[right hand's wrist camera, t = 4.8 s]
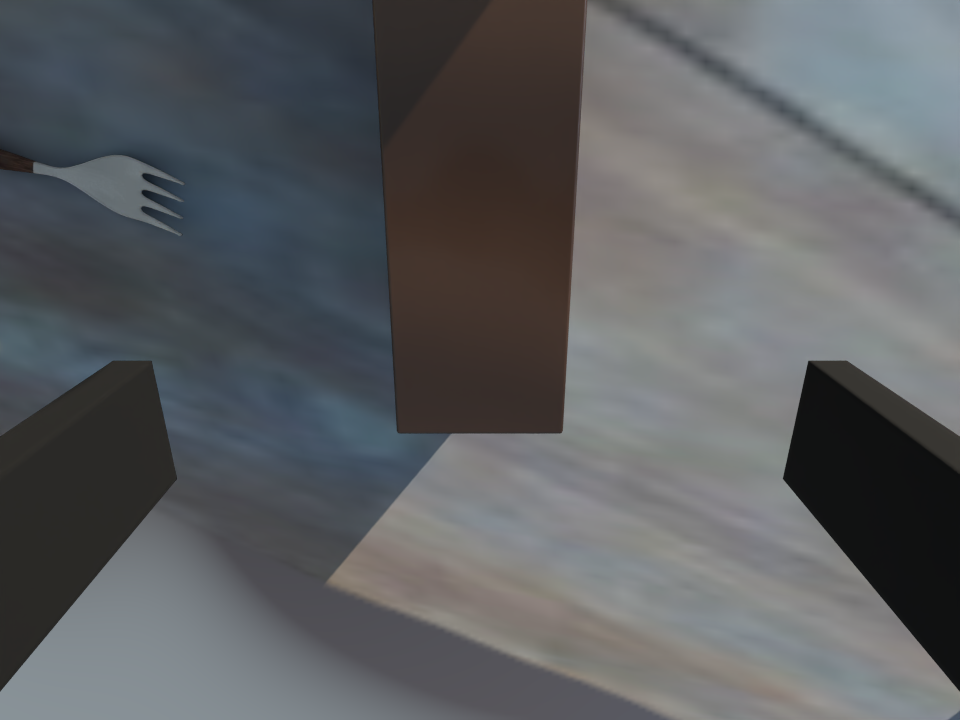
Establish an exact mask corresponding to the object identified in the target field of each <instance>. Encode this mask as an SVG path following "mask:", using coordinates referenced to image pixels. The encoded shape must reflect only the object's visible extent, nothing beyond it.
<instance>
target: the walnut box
mask: <svg viewBox="0 0 960 720" xmlns="http://www.w3.org/2000/svg"><path fill="white" fill-rule="evenodd" d="M372 3H373V21H374V38H375V55H376V73H377V90H378V108H379V125H380V143H381V160H382V178H383V195H384V213H385V230H386V248H387V265H388V283H389V300H390V318H391V335H392V352H393V370H394V387H395V405H396V422H397V432H398V433H562V431H563V417H564V399H565V382H566V364H567V347H568V329H569V312H570V294H571V277H572V259H573V242H574V224H575V207H576V189H577V171H578V154H579V136H580V119H581V101H582V84H583V66H584V49H585V31H586V14H587V0H372Z"/></svg>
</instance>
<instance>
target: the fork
mask: <svg viewBox="0 0 960 720" xmlns="http://www.w3.org/2000/svg"><path fill="white" fill-rule="evenodd" d="M0 169H4V170H13V171H21V172H29V173H37V174H43V175H49V176H54V177H57V178H60V179H63V180H65V181H67V182H69V183H70V184H72V185H74V186H75V187H77V188H79V189H80V190H82V191H83V192H85V193H86V194H87V195H89V196H90V197H92V198H93V199H95V200H96V201H98V202H99V203H101V204H102V205H104V206H105V207H107V208H109V209H110V210H112V211H114V212H116V213H118V214H120V215H123V216H126V217H129V218H132V219H136V220H140V221H143V222H146V223H149V224H152V225H154V226H157V227H160V228H162V229H165V230H167V231H170V232H172V233H175V234H177V235H179V236H182V233H180V232H178V231H176V230H175V229H173V228H171V227H169V226H168V225H166V224H164V223H162V222H161V221H159V220H157V219H155V218H153V217H151V216H149V215H147V214H146V213H144V212H143V211H142V209H141V207H142V206H146V207H150V208H153V209H155V210H158V211H161V212H164V213H166V214H169V215H172V216H175V217H177V218H180V219H183V217H181V216H180V215H178V214H176V213H175V212H173V211H171V210H169V209H167V208H165V207H164V206H162V205H160V204H158V203H156V202H154V201H152V200H150V199H148V198H146V197H145V196H144V195H143V194H142V190H148V191H152V192H155V193H157V194H160V195H163V196H166V197H169V198H172V199H175V200H178V201H180V202H184V200H182V199H180V198H179V197H177V196H175V195H173V194H171V193H169V192H168V191H166V190H164V189H162V188H160V187H158V186H156V185H154V184H152V183H150V182H148V181H146V180H145V179H144V178H143V176H142V174H143V173H148V174H151V175H155V176H158V177H161V178H164V179H167V180H170V181H173V182H176V183H179V184H181V185H185V183H184V182H182V181H180V180H178V179H176V178H174V177H172V176H170V175H168V174H166V173H164V172H162V171H160V170H158V169H156V168H154V167H152V166H150V165H147V164H145V163H143V162H141V161H139V160H136V159H134V158H131V157H128V156H124V155H110V156H105V157H100V158H97V159H94V160H91V161H88V162H85V163H82V164H79V165H76V166H72V167H67V168H58V167H53V166H49V165H46V164H42V163H39V162H36V161H33V160H30V159H27V158H25V157H22V156H19V155H16V154H13V153H10V152H7V151H4V150H2V149H0Z"/></svg>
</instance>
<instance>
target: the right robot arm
mask: <svg viewBox="0 0 960 720" xmlns="http://www.w3.org/2000/svg"><path fill="white" fill-rule="evenodd" d="M176 479H177V476H176V472H175V467H174V463H173V458H172V453H171V449H170V444H169V439H168V435H167V430H166V426H165V421H164V416H163V412H162V407H161V402H160V398H159V393H158V388H157V384H156V379H155V375H154V370H153V365H152V361H112V362H111V363H109V364H108V365H106V366H105V367H103V368H102V369H100V370H99V371H97V372H96V373H94V374H93V375H91V376H90V377H88V378H87V379H85V380H84V381H82V382H81V383H79V384H78V385H76V386H75V387H73V388H72V389H70V390H69V391H67V392H66V393H64V394H63V395H62V396H60V397H59V398H57V399H56V400H54V401H53V402H51V403H50V404H48V405H47V406H45V407H44V408H42V409H41V410H39V411H38V412H36V413H35V414H33V415H32V416H30V417H29V418H27V419H26V420H24V421H23V422H21V423H20V424H18V425H17V426H15V427H14V428H12V429H11V430H9V431H8V432H6V433H5V434H3V435H2V436H0V691H1V690H2V689H3V687H4V686H5V685H6V684H7V683H8V681H9V680H10V679H11V678H12V677H13V675H14V674H15V673H16V672H17V671H18V669H19V668H20V667H21V666H22V665H23V663H24V662H25V661H26V660H27V659H28V657H29V656H30V655H31V654H32V653H33V651H34V650H35V649H36V648H37V647H38V645H39V644H40V643H41V642H42V641H43V639H44V638H45V637H46V636H47V635H48V633H49V632H50V631H51V630H52V629H53V627H54V626H55V625H56V624H57V623H58V621H59V620H60V619H61V618H62V617H63V615H64V614H65V613H66V612H67V611H68V609H69V608H70V607H71V606H72V605H73V603H74V602H75V601H76V600H77V598H78V597H79V596H80V595H81V594H82V593H83V591H84V590H85V589H86V588H87V586H88V585H89V584H90V583H91V582H92V580H93V579H94V578H95V577H96V576H97V574H98V573H99V572H100V571H101V570H102V568H103V567H104V566H105V565H106V564H107V562H108V561H109V560H110V559H111V558H112V556H113V555H114V554H115V553H116V552H117V550H118V549H119V548H120V547H121V546H122V544H123V543H124V542H125V541H126V540H127V538H128V537H129V536H130V535H131V534H132V532H133V531H134V530H135V529H136V528H137V526H138V525H139V524H140V523H141V522H142V520H143V519H144V518H145V517H146V516H147V514H148V513H149V512H150V511H151V510H152V508H153V507H154V506H155V505H156V504H157V502H158V501H159V500H160V499H161V498H162V496H163V495H164V494H165V493H166V492H167V490H168V489H169V488H170V487H171V486H172V484H173V483H174V482H175V481H176ZM783 479H784V481H785V482H786V483H787V484H788V486H789V487H790V488H791V489H792V490H793V492H794V493H795V494H796V495H797V496H798V498H799V499H800V500H801V501H802V502H803V504H804V505H805V506H806V507H807V508H808V510H809V511H810V512H811V513H812V514H813V516H814V517H815V518H816V519H817V520H818V522H819V523H820V524H821V525H822V526H823V528H824V529H825V530H826V531H827V532H828V534H829V535H830V536H831V537H832V538H833V540H834V541H835V542H836V543H837V544H838V546H839V547H840V548H841V549H842V550H843V552H844V553H845V554H846V555H847V556H848V558H849V559H850V560H851V561H852V562H853V564H854V565H855V566H856V567H857V568H858V570H859V571H860V572H861V573H862V574H863V576H864V577H865V578H866V579H867V580H868V582H869V583H870V584H871V585H872V587H873V588H874V589H875V590H876V591H877V593H878V594H879V595H880V596H881V597H882V599H883V600H884V601H885V602H886V603H887V605H888V606H889V607H890V608H891V609H892V611H893V612H894V613H895V614H896V615H897V617H898V618H899V619H900V620H901V621H902V623H903V624H904V625H905V626H906V627H907V629H908V630H909V631H910V632H911V633H912V635H913V636H914V637H915V638H916V639H917V641H918V642H919V643H920V644H921V645H922V647H923V648H924V649H925V650H926V651H927V653H928V654H929V655H930V656H931V657H932V659H933V660H934V661H935V662H936V663H937V665H938V666H939V667H940V668H941V669H942V671H943V672H944V673H945V674H946V675H947V677H948V678H949V679H950V680H951V681H952V683H953V684H954V685H955V686H956V687H957V689H958V690H959V691H960V436H958V435H957V434H955V433H954V432H952V431H951V430H949V429H948V428H946V427H945V426H943V425H942V424H940V423H939V422H937V421H936V420H934V419H933V418H931V417H930V416H928V415H927V414H925V413H924V412H922V411H921V410H919V409H918V408H916V407H915V406H913V405H912V404H910V403H909V402H907V401H906V400H904V399H903V398H901V397H900V396H898V395H897V394H896V393H894V392H893V391H891V390H890V389H888V388H887V387H885V386H884V385H882V384H881V383H879V382H878V381H876V380H875V379H873V378H872V377H870V376H869V375H867V374H866V373H864V372H863V371H861V370H860V369H858V368H857V367H855V366H854V365H852V364H851V363H849V362H848V361H808V365H807V370H806V375H805V379H804V384H803V388H802V393H801V398H800V402H799V407H798V412H797V416H796V421H795V426H794V430H793V435H792V439H791V444H790V449H789V453H788V458H787V463H786V467H785V472H784V476H783Z"/></svg>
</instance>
